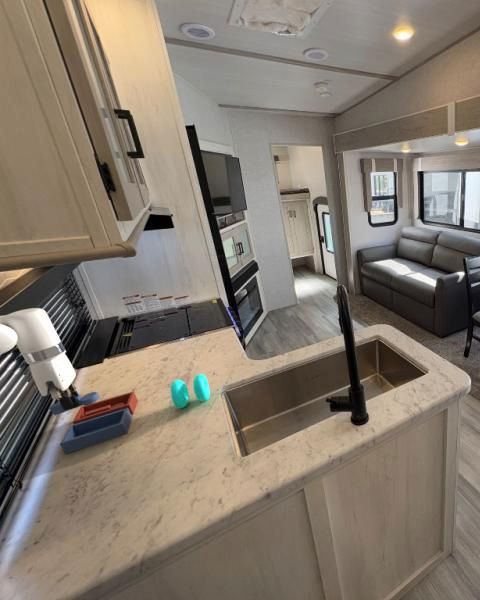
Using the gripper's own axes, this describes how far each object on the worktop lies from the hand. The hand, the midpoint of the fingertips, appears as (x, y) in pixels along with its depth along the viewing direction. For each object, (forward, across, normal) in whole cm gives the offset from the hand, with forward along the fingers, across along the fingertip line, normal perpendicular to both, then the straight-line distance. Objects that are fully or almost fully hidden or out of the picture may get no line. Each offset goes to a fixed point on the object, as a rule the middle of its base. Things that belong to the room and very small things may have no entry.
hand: (73, 405), depth 91 cm
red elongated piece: (+14, -14, +1) cm, 19 cm away
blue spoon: (0, 0, +1) cm, 1 cm away
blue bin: (+14, -3, +2) cm, 14 cm away
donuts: (+14, -4, +28) cm, 31 cm away
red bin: (+14, -14, +1) cm, 20 cm away
